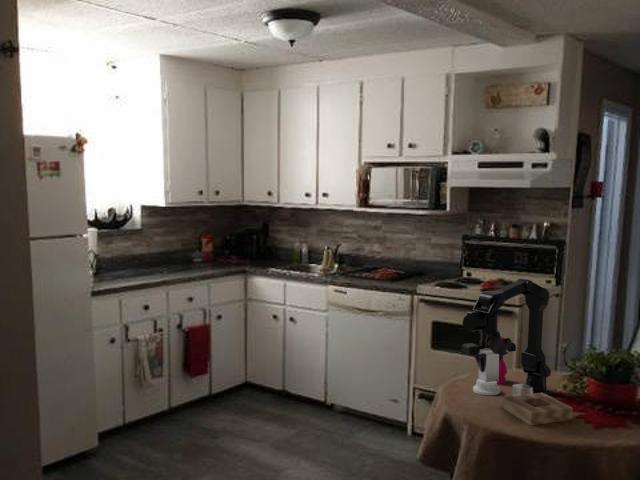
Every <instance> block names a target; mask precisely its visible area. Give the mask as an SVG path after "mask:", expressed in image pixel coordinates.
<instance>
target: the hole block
mask: <svg viewBox="0 0 640 480" xmlns="http://www.w3.org/2000/svg"><path fill="white" fill-rule="evenodd" d="M502 409H503V410H505V411H506V412H507V413H509V414H511V415H513V416H514V417H516V418H517V419H519V420H521V421H523V422H524V423H526V424H527V425H530V426H537V425H543V424H551V423H557V422H566V421H572V420H573V413H574V412H573V411H574V410H573V409H574V408H573V407H571V406H569V405H567V404H566V403H564V402H561V401H560V400H558V399H556V398H554V397H552V396H550V395H548V394H546V393H545V392H542V393H533V394H527V395H518V396H511V395H509V396H502Z"/></svg>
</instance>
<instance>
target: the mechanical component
mask: <svg viewBox="0 0 640 480" xmlns="http://www.w3.org/2000/svg"><path fill="white" fill-rule="evenodd" d="M472 389H473V390H472V391H473V392H474V393H475V394H478V395H480V396H481V395H482V396H496V395H497V396H498V395H499V394H500V393H501V388H500V387H499V386H498V384H497V382H496V381H494V382H485V381H483V380H481V379H479V378H477V379H476V384H475V385H474V386H473V387H472Z"/></svg>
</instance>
